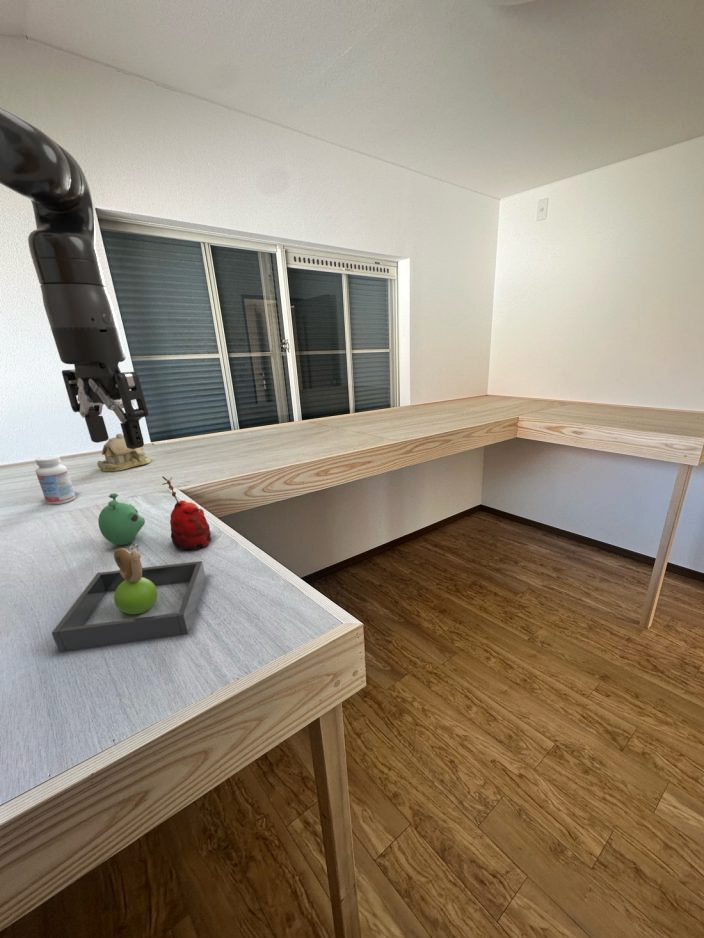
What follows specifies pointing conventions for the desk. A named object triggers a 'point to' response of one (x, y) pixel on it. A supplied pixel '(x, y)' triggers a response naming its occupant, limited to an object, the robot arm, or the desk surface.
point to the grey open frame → (82, 636)
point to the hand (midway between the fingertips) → (118, 444)
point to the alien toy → (120, 522)
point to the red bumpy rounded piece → (188, 525)
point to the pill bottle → (54, 480)
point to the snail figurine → (133, 584)
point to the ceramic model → (121, 455)
